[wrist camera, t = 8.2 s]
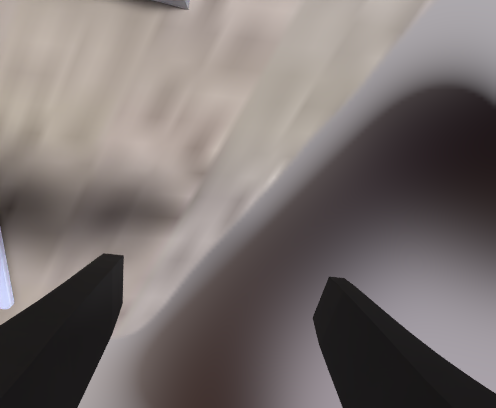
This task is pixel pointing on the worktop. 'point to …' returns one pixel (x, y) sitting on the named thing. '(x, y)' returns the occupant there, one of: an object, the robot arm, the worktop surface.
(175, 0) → the gray slab
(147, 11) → the worktop surface
